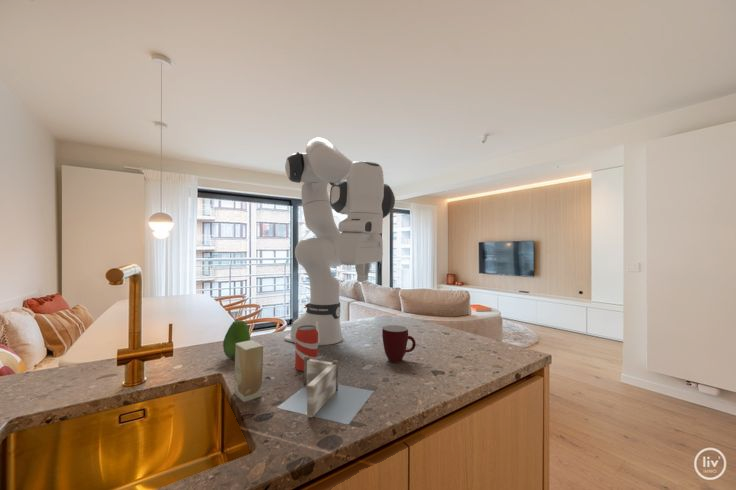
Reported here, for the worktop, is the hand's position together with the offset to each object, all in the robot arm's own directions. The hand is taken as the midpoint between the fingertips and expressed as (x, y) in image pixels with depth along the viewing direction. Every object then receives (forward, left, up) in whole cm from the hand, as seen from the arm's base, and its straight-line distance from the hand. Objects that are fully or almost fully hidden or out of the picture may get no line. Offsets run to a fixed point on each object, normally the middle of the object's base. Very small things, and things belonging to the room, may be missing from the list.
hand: (362, 281), depth 75 cm
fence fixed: (-9, -4, -26) cm, 28 cm away
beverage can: (-19, +6, -27) cm, 34 cm away
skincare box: (-23, -13, -27) cm, 38 cm away
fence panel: (-5, -11, -26) cm, 29 cm away
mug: (+4, +23, -27) cm, 35 cm away
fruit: (-44, +5, -27) cm, 52 cm away
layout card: (-5, -8, -27) cm, 28 cm away
